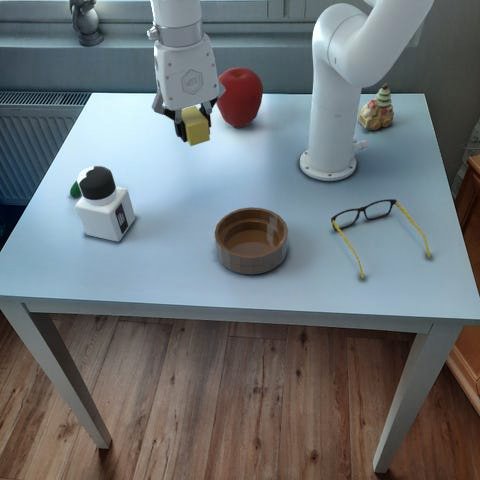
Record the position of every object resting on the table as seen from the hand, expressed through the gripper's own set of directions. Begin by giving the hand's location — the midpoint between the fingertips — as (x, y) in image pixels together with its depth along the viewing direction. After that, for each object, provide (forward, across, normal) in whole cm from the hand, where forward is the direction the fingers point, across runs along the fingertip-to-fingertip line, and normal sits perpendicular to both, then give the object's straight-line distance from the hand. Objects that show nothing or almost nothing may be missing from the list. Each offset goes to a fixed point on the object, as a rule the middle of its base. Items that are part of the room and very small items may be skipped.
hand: (194, 134), depth 90 cm
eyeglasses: (+15, +24, -29) cm, 41 cm away
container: (+15, -20, +1) cm, 25 cm away
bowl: (+15, +2, -19) cm, 25 cm away
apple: (+15, +20, +23) cm, 34 cm away
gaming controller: (+15, -21, +13) cm, 29 cm away
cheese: (0, 0, 0) cm, 0 cm away
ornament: (+16, +48, +6) cm, 51 cm away
